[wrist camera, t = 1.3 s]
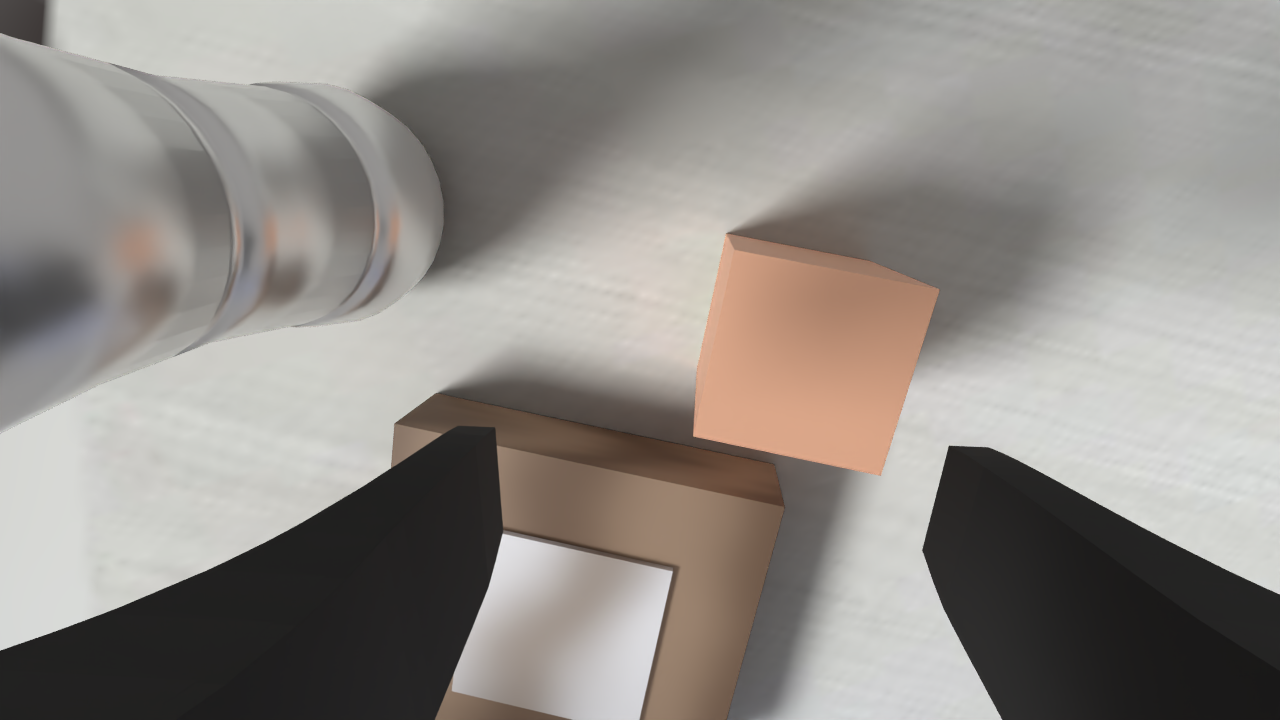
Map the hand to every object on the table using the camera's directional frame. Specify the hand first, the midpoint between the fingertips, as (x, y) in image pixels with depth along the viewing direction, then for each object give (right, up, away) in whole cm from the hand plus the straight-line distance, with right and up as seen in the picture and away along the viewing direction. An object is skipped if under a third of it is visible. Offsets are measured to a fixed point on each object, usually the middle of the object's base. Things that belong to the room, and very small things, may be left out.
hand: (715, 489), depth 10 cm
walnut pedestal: (-4, -6, +13) cm, 15 cm away
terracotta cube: (+3, +3, +10) cm, 11 cm away
